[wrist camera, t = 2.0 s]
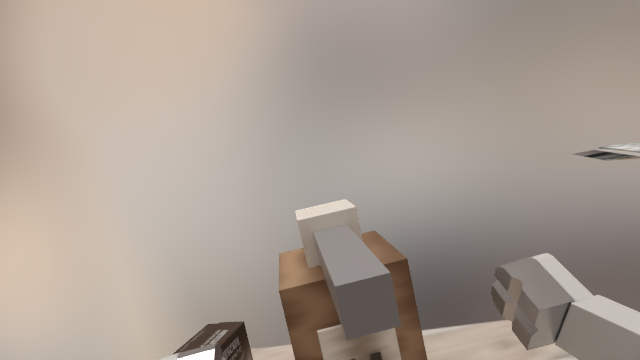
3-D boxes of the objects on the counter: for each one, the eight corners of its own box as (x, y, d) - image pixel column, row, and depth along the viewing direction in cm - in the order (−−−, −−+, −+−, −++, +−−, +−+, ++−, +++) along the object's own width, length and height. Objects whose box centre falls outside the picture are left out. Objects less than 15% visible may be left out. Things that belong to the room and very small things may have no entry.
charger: (326, 345, 23) (309, 268, 22) (304, 252, 44) (295, 210, 43) (420, 320, 23) (405, 244, 23) (354, 240, 44) (345, 198, 44)
